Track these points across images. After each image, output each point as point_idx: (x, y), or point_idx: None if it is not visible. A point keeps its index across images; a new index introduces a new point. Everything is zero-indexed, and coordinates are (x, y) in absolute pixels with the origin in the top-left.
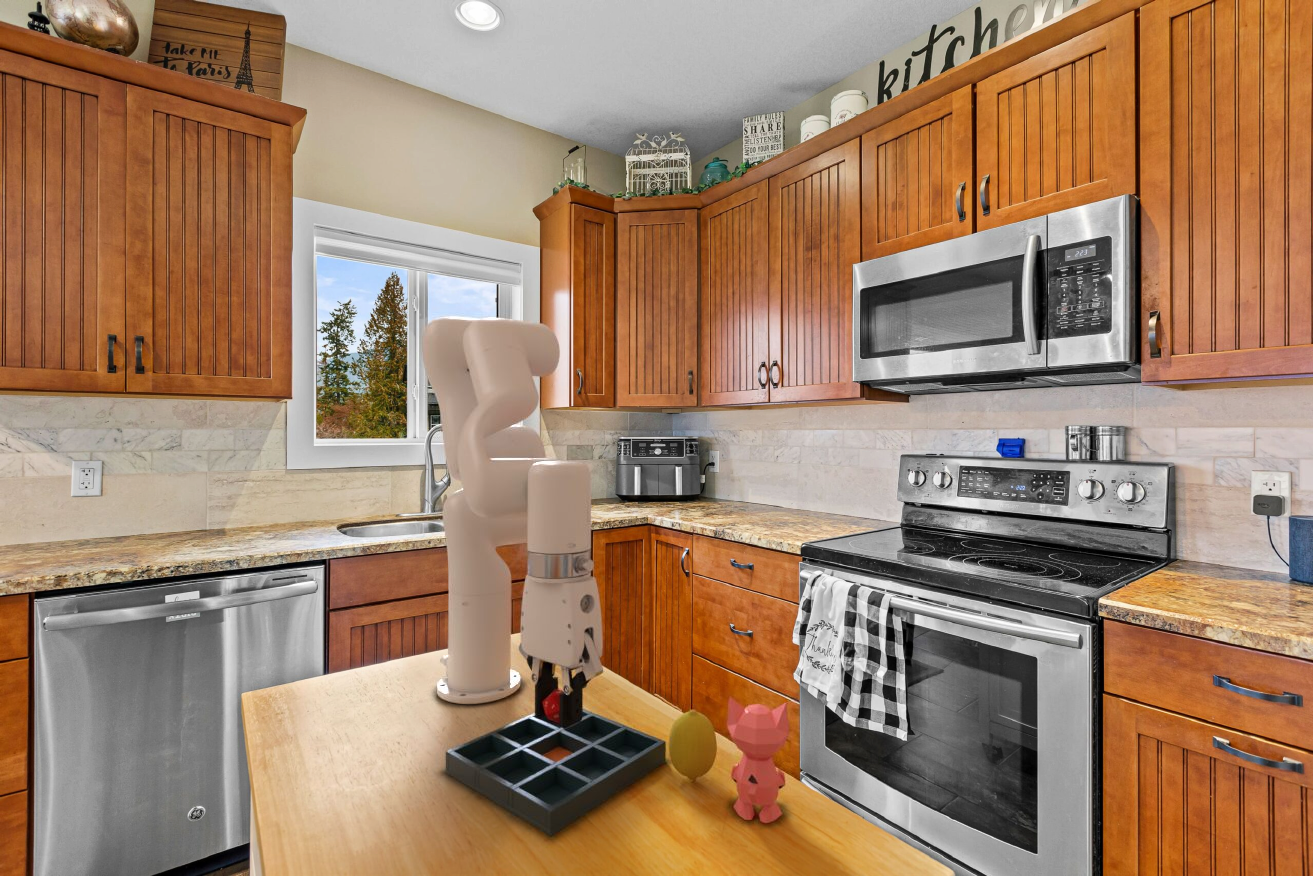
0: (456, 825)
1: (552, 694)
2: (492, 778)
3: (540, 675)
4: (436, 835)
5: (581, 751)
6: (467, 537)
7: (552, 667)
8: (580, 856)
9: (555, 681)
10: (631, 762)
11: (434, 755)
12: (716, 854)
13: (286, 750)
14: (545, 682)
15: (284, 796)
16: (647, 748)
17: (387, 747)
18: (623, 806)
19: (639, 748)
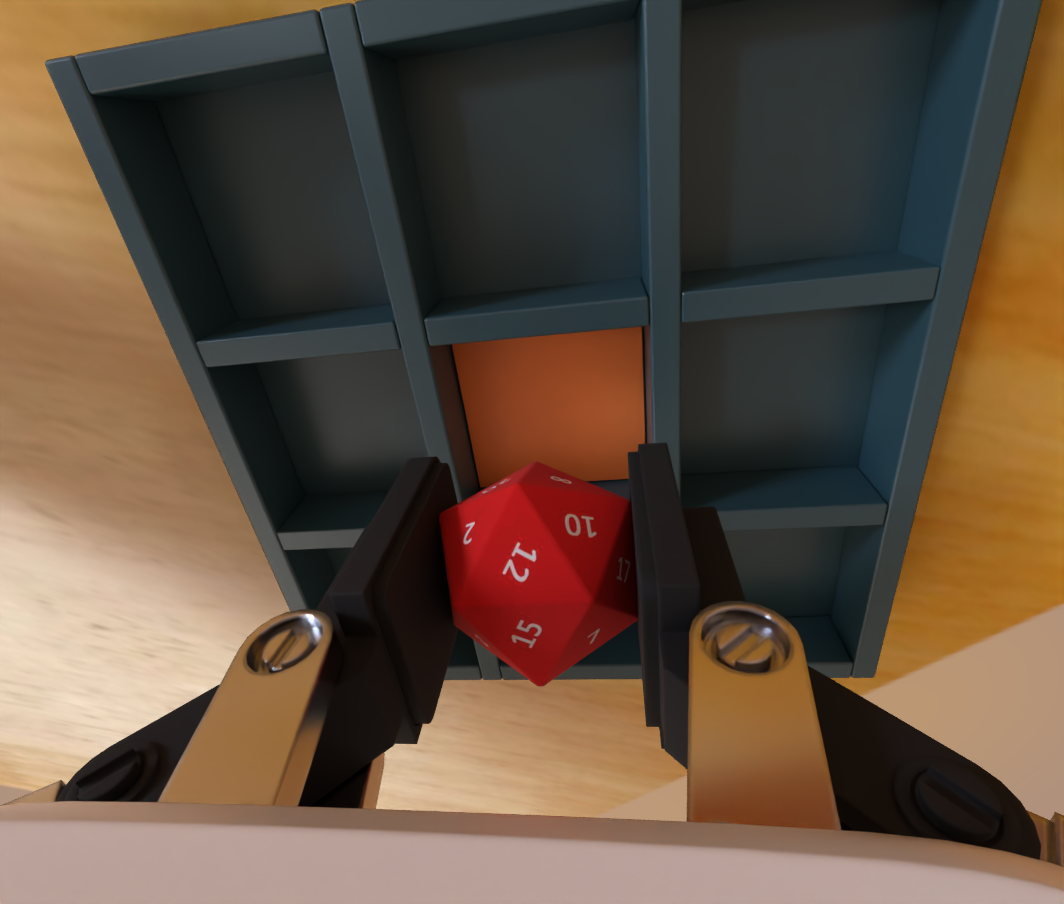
0: (599, 706)
1: (530, 672)
2: (572, 678)
3: (370, 778)
4: (599, 738)
5: (672, 394)
6: None
7: (321, 724)
8: (976, 616)
9: (391, 608)
10: (970, 283)
11: (227, 603)
12: None
13: (44, 765)
14: (397, 692)
15: None
16: (987, 87)
17: (118, 652)
18: (967, 391)
19: None
